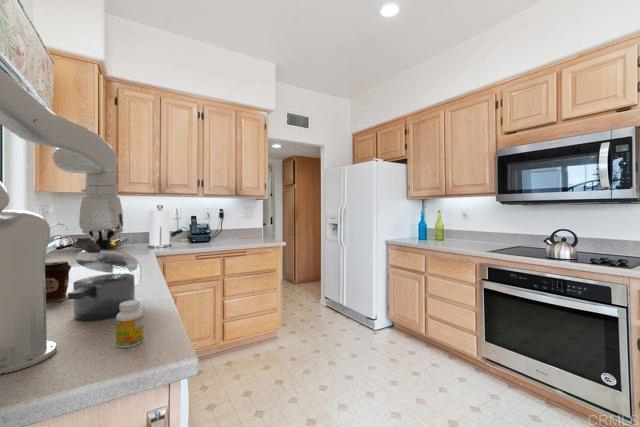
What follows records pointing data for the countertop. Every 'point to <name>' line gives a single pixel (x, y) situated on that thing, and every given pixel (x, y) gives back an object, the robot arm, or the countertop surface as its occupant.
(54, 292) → the coffee cup
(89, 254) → the cooker lid
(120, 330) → the supplement bottle
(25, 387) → the countertop surface
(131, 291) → the cooker pot
